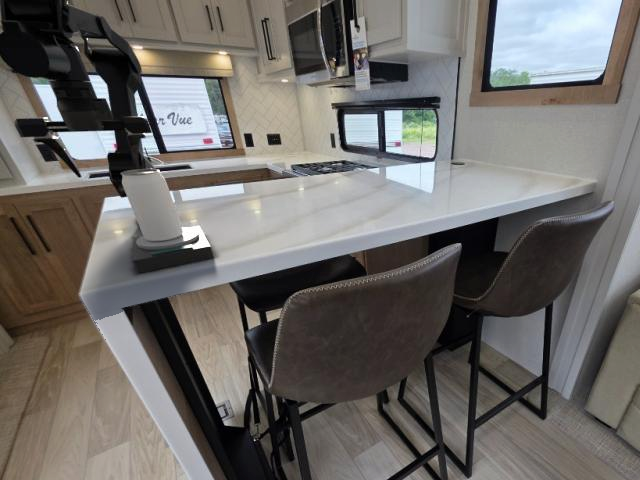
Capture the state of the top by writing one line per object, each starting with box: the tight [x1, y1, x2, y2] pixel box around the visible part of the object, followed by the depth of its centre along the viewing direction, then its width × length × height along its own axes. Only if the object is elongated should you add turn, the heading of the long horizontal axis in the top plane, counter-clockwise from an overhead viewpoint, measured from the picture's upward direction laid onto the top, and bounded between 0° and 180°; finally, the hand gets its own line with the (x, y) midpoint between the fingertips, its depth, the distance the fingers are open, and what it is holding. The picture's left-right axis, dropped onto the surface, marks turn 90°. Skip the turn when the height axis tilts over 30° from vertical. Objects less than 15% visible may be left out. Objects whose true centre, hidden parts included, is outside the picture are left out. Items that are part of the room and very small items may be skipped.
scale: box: [131, 225, 215, 274], centre depth 64 cm, size 14×12×3 cm
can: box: [121, 168, 183, 242], centre depth 61 cm, size 6×6×12 cm
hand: (109, 174), depth 66 cm, fingers open, 9 cm apart
